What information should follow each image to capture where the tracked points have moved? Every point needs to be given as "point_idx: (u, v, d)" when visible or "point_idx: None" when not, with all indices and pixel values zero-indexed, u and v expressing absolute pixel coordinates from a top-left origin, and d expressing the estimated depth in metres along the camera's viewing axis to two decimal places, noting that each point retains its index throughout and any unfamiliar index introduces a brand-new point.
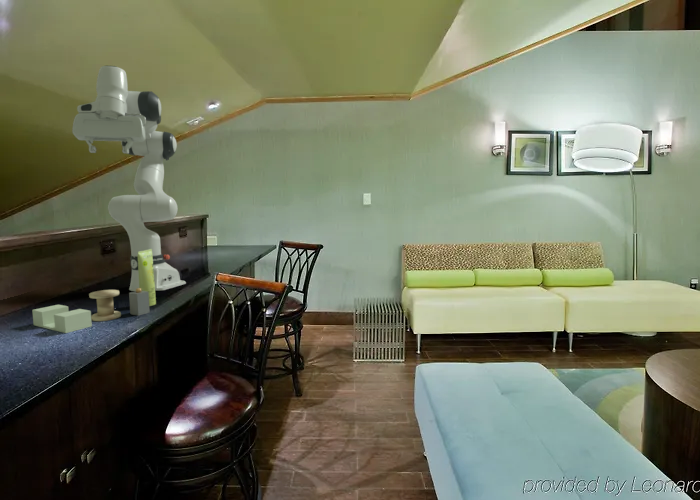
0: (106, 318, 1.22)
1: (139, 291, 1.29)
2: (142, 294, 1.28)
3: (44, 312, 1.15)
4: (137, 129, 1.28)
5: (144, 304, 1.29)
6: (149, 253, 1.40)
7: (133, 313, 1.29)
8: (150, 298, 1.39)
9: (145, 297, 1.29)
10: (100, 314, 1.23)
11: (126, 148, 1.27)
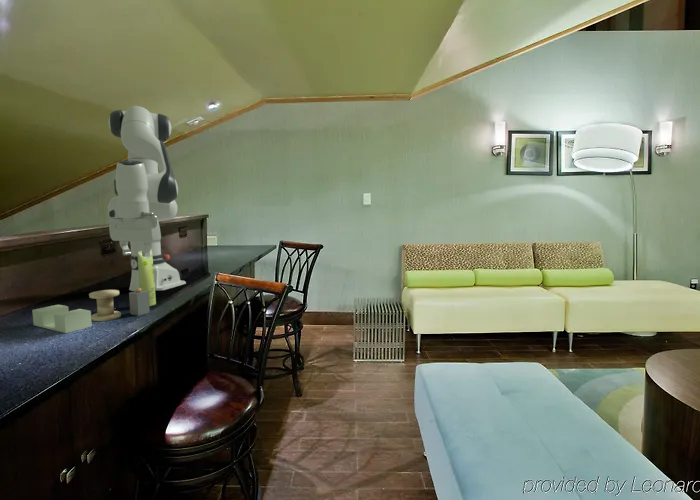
0: (106, 318, 1.22)
1: (139, 291, 1.29)
2: (142, 294, 1.28)
3: (44, 312, 1.15)
4: (147, 234, 1.22)
5: (144, 304, 1.29)
6: None
7: (133, 313, 1.29)
8: (150, 298, 1.39)
9: (144, 297, 1.29)
10: (100, 314, 1.23)
11: (144, 253, 1.25)
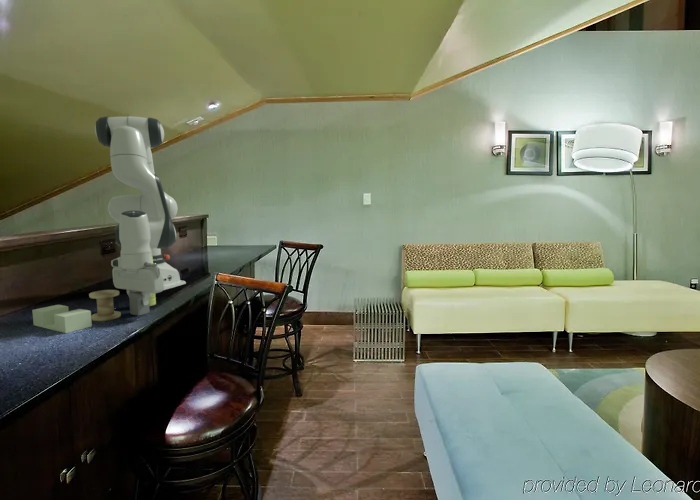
0: (106, 318, 1.22)
1: (139, 291, 1.29)
2: None
3: (44, 312, 1.15)
4: (150, 285, 1.24)
5: None
6: None
7: (133, 313, 1.29)
8: (150, 298, 1.39)
9: None
10: (100, 314, 1.23)
11: (143, 302, 1.28)
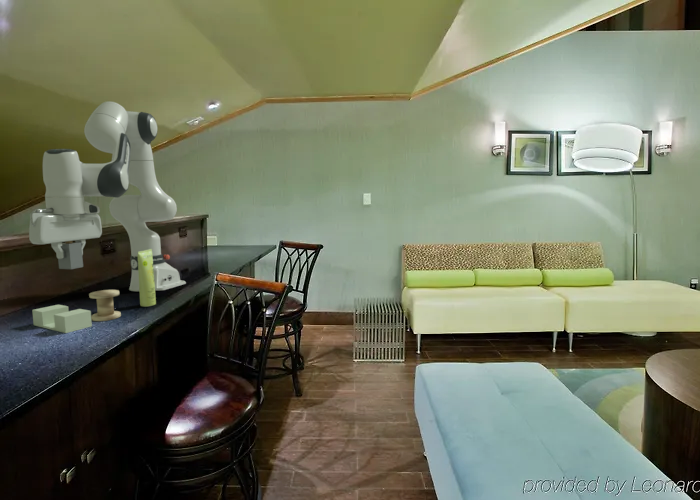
0: (106, 318, 1.22)
1: (66, 242, 1.12)
2: (62, 245, 1.11)
3: (44, 312, 1.15)
4: None
5: (65, 258, 1.11)
6: (149, 253, 1.40)
7: None
8: (150, 298, 1.39)
9: (65, 249, 1.11)
10: (100, 314, 1.23)
11: None
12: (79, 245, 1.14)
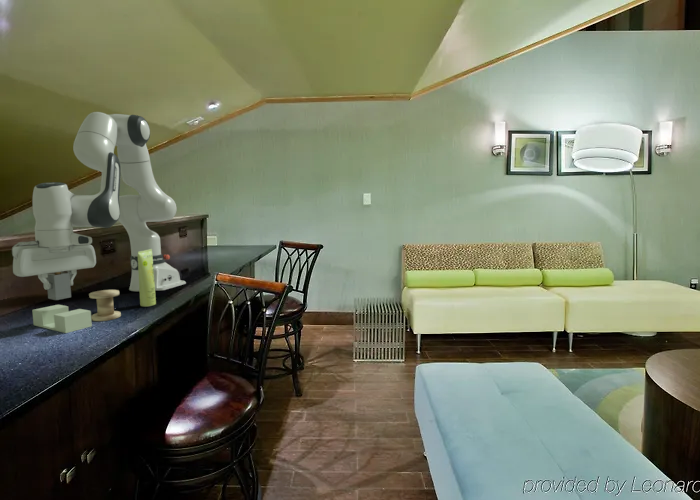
0: (106, 318, 1.22)
1: (54, 273, 1.14)
2: (50, 276, 1.13)
3: (44, 312, 1.15)
4: None
5: None
6: (149, 253, 1.40)
7: None
8: (150, 298, 1.39)
9: (51, 280, 1.13)
10: (100, 314, 1.23)
11: None
12: (67, 276, 1.15)
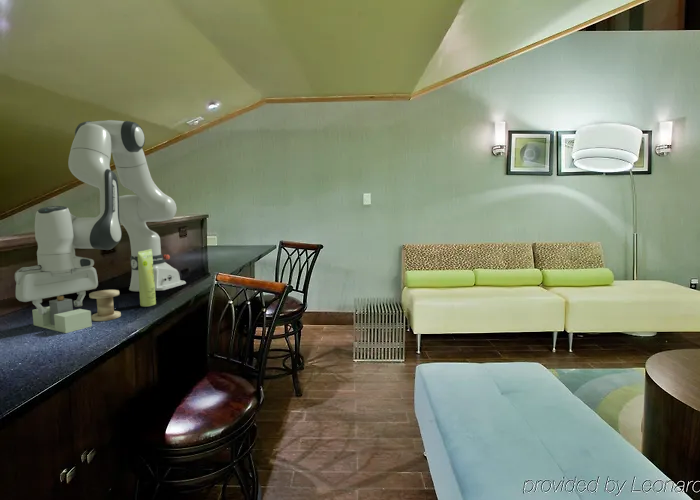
0: (106, 318, 1.22)
1: (57, 299, 1.16)
2: (53, 303, 1.15)
3: None
4: None
5: None
6: (149, 253, 1.40)
7: None
8: (150, 298, 1.39)
9: (54, 307, 1.14)
10: (100, 314, 1.23)
11: None
12: (69, 302, 1.17)
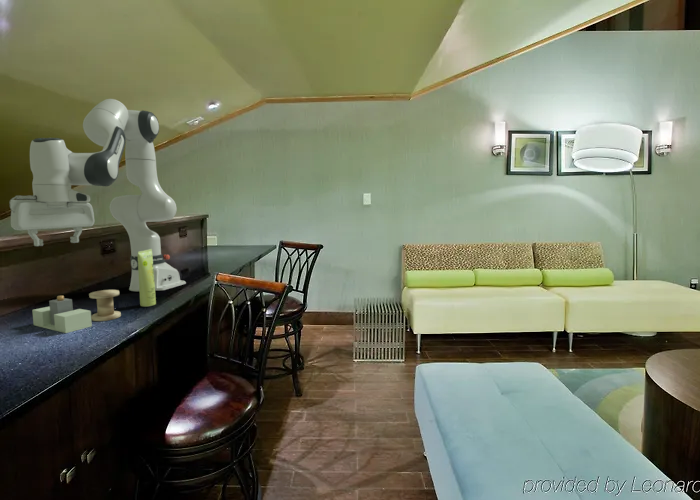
0: (106, 318, 1.22)
1: (57, 299, 1.16)
2: (53, 303, 1.15)
3: (44, 312, 1.15)
4: None
5: None
6: (149, 253, 1.40)
7: None
8: (150, 298, 1.39)
9: (54, 307, 1.14)
10: (100, 314, 1.23)
11: None
12: (69, 302, 1.17)
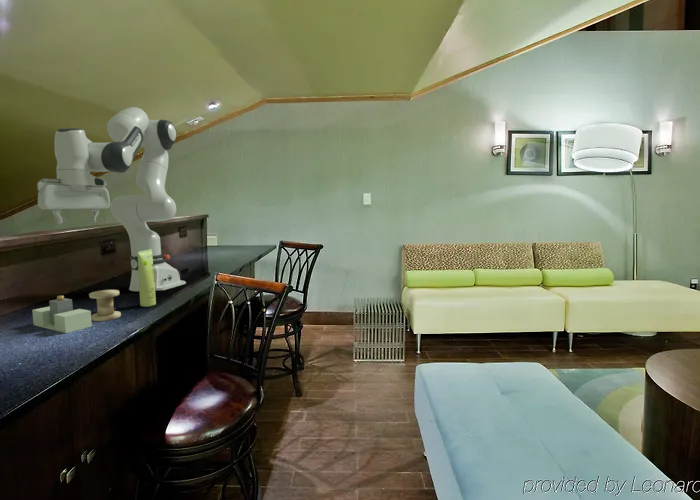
0: (106, 318, 1.22)
1: (57, 299, 1.16)
2: (53, 303, 1.15)
3: (44, 312, 1.15)
4: None
5: None
6: (149, 253, 1.40)
7: None
8: (150, 298, 1.39)
9: (54, 307, 1.14)
10: (100, 314, 1.23)
11: None
12: (69, 302, 1.17)
